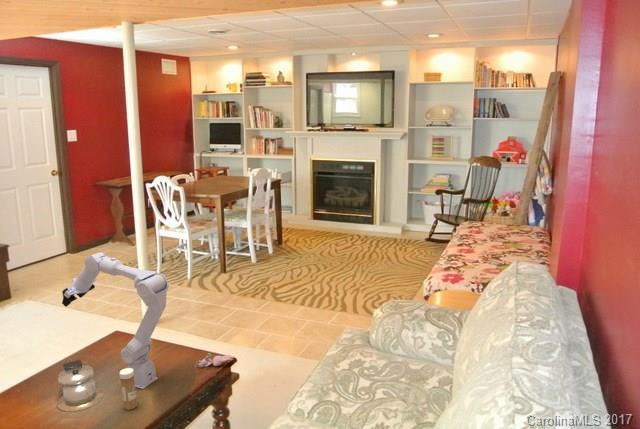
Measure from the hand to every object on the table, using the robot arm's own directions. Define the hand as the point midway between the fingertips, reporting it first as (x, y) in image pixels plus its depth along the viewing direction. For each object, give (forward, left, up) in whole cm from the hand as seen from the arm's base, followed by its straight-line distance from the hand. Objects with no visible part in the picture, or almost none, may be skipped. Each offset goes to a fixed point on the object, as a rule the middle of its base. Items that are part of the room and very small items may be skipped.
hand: (71, 300), depth 194 cm
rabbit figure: (-49, -21, -29) cm, 61 cm away
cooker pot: (-18, +16, -29) cm, 37 cm away
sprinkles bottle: (-38, +13, -29) cm, 49 cm away
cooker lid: (-11, +12, -23) cm, 28 cm away
